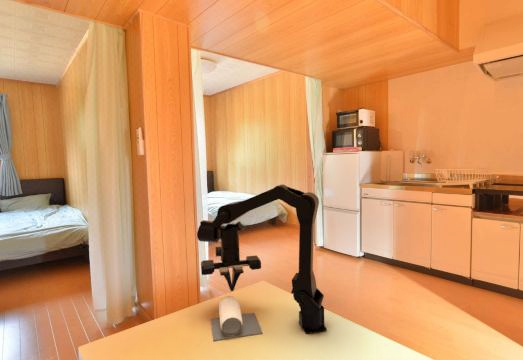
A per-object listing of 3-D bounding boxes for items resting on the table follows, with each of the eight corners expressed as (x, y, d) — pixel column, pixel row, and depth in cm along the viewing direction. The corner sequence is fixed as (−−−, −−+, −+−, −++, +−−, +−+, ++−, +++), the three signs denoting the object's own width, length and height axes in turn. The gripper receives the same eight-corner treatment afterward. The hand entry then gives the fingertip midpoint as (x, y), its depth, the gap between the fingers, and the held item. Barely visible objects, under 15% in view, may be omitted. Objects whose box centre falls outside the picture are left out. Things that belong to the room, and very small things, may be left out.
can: (239, 312, 99) (244, 335, 88) (219, 316, 98) (221, 339, 87) (238, 293, 99) (242, 314, 87) (217, 297, 98) (219, 318, 86)
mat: (254, 313, 100) (254, 312, 100) (262, 333, 88) (262, 332, 88) (210, 319, 97) (210, 318, 97) (213, 341, 85) (213, 340, 85)
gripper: (254, 234, 108) (255, 278, 109) (199, 239, 104) (201, 284, 105) (260, 243, 97) (262, 291, 98) (200, 248, 93) (202, 298, 94)
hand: (231, 290), depth 99 cm, fingers closed
